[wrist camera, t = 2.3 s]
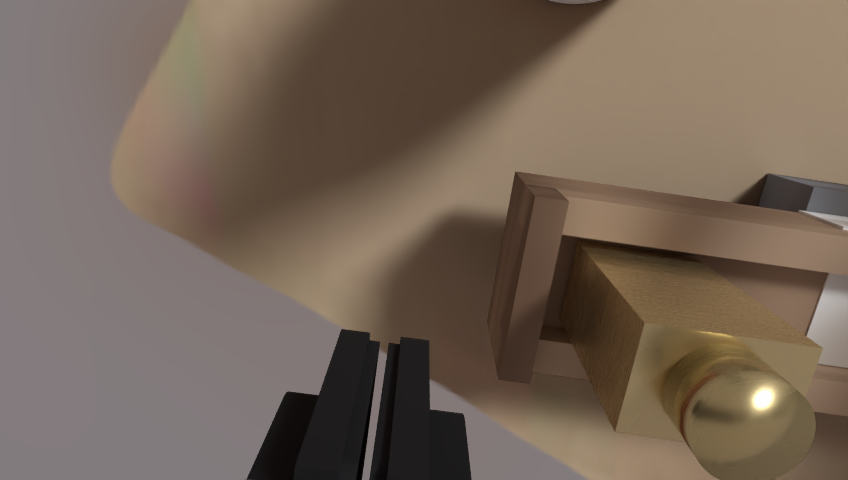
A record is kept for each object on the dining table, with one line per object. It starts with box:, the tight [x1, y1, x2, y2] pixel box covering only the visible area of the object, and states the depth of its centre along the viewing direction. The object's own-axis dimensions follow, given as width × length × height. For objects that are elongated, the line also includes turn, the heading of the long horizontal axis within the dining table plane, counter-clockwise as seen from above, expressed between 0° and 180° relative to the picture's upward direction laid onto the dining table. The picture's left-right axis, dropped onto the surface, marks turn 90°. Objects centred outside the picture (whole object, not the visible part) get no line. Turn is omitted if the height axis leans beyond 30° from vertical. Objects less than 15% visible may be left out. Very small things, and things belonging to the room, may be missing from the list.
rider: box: [560, 242, 823, 480], centre depth 15 cm, size 4×3×8 cm
